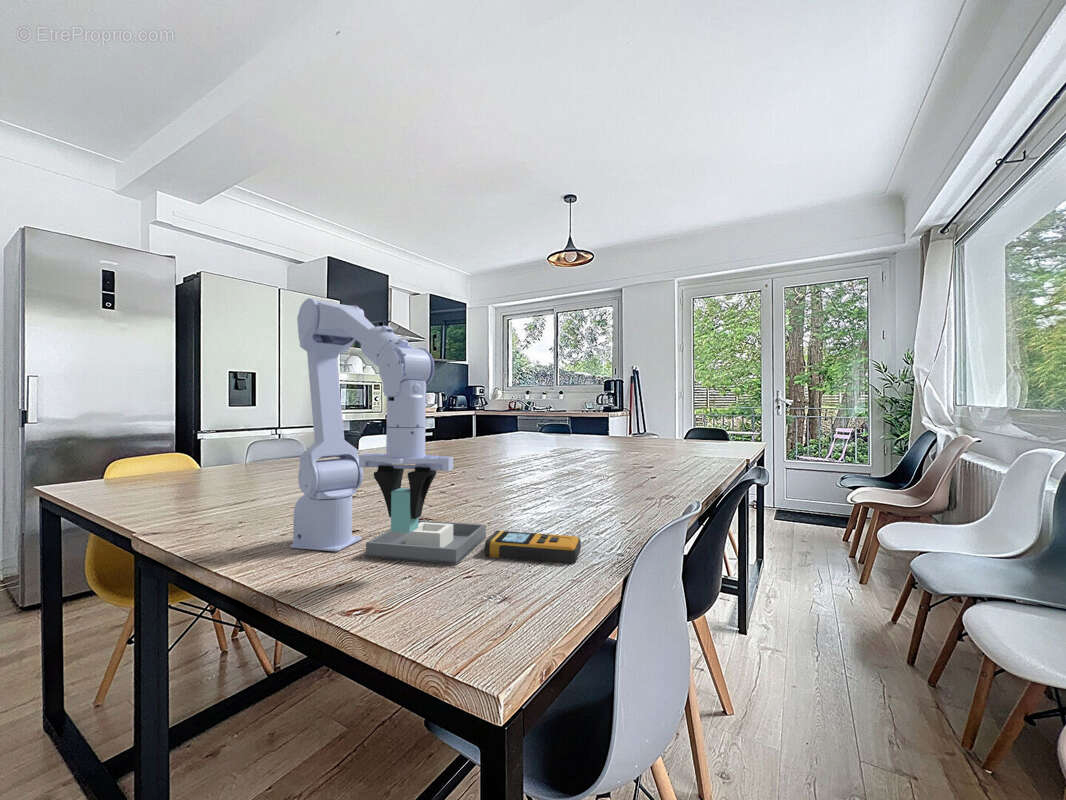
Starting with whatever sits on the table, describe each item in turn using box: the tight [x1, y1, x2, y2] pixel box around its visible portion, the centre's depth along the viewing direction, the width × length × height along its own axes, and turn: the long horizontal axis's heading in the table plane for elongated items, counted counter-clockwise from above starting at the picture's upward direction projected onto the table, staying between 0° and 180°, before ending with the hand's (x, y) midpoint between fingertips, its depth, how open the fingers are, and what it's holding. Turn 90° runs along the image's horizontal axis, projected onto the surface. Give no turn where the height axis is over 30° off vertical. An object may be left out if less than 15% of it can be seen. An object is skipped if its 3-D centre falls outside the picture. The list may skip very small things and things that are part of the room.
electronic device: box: [484, 530, 582, 565], centre depth 85 cm, size 8×16×3 cm, turn 78°
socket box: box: [365, 519, 487, 566], centre depth 88 cm, size 16×16×4 cm
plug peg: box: [390, 487, 419, 533], centre depth 74 cm, size 3×3×6 cm
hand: (405, 516), depth 74 cm, fingers closed on plug peg, 3 cm apart
